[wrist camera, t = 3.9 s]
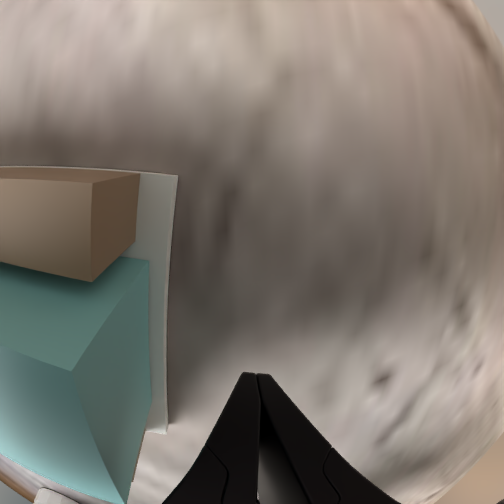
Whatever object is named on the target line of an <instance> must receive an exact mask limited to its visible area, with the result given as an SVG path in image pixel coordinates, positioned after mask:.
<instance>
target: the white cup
mask: <svg viewBox="0 0 504 504" xmlns="http://www.w3.org/2000/svg"><path fill="white" fill-rule="evenodd" d="M33 504H79V503H77V502H76V501H73V500H71V499H70V498H68V497H66V496H64V495H61V494H59V493H57V492H55V491H52V490H49V489H46V488H40V489H39V491H38V493H37V496H36V498H35V500H34V503H33Z"/></svg>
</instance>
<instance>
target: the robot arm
mask: <svg viewBox="0 0 504 504" xmlns="http://www.w3.org/2000/svg"><path fill="white" fill-rule="evenodd" d="M331 447H332V446H331V444H330V443H329V442H328V441H327V440H326V439H325V438H324V437H323V436H322V435H321V433H320V432H319V431H318V430H317V429H316V428H315V427H314V426H313V425H312V423H311V422H310V421H309V420H308V419H307V418H306V417H305V415H304V414H303V413H302V412H301V411H300V410H299V409H298V407H297V406H296V405H295V404H294V403H293V402H292V400H291V399H290V398H289V397H288V396H287V394H286V393H285V392H284V391H283V390H282V389H281V387H280V386H279V385H278V384H277V382H276V381H275V380H274V379H273V378H272V376H271V375H269V374H261V373H257V374H255V373H249V372H243V373H242V374H241V375H240V377H239V379H238V381H237V383H236V385H235V387H234V389H233V391H232V393H231V395H230V397H229V399H228V401H227V403H226V405H225V407H224V409H223V411H222V413H221V415H220V417H219V419H218V421H217V422H216V424H215V426H214V428H213V430H212V432H211V434H210V436H209V438H208V439H207V441H206V443H205V446H204V447H203V448H202V450H201V452H200V454H199V456H198V457H197V459H196V460H195V462H194V464H193V465H192V467H191V469H190V470H189V471H188V473H187V474H186V475H185V477H184V478H183V479H182V481H181V482H180V483H179V484H178V485H177V487H176V488H175V489H174V490H173V491H172V492H171V494H170V495H169V496H168V497H167V498H166V499H165V500H164V502H163V503H162V504H401V503H399V502H397V501H396V500H394V499H393V498H391V497H390V496H389V495H387V494H386V493H385V492H383V491H382V490H381V489H379V488H378V487H377V486H375V485H374V484H373V483H371V482H370V481H369V480H368V479H366V478H365V477H364V476H363V475H361V474H360V473H359V472H358V471H357V470H356V469H354V468H353V467H352V466H351V465H350V464H349V463H348V462H347V461H346V460H345V459H344V458H343V457H342V456H341V455H340V454H339V453H338V452H337V451H336V450H335V449H334V448H333V447H332V448H331ZM257 490H258V494H259V501H260V503H257ZM497 504H504V499H503V500H501V501H500V502H498V503H497Z"/></svg>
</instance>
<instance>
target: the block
mask: <svg viewBox="0 0 504 504" xmlns="http://www.w3.org/2000/svg"><path fill="white" fill-rule="evenodd" d="M148 289H149V261H148V260H141V259H135V258H128V257H122V256H119V257H118V258H117V259H116V260H114V261H113V262H112V263H111V264H110V265H109V266H108V267H107V268H106V269H105V270H104V271H103V272H102V273H101V274H100V275H99V276H98V277H97V278H96V279H95V280H94V281H93V282H88V281H83V280H79V279H74V278H69V277H64V276H60V275H55V274H50V273H46V272H42V271H37V270H33V269H29V268H24V267H20V266H16V265H12V264H8V263H4V262H0V454H2V455H4V456H5V457H7V458H9V459H10V460H12V461H14V462H16V463H17V464H19V465H21V466H23V467H25V468H27V469H29V470H31V471H33V472H35V473H37V474H39V475H41V476H43V477H45V478H47V479H49V480H52V481H54V482H56V483H58V484H61V485H63V486H66V487H68V488H71V489H73V490H76V491H78V492H81V493H84V494H87V495H89V496H92V497H95V498H98V499H101V500H105V501H108V502H111V503H115V504H127V500H128V495H129V490H130V486H131V481H132V477H133V473H134V468H135V464H136V460H137V456H138V452H139V448H140V444H141V440H142V436H143V432H144V428H145V425H146V421H147V417H148V413H149V410H150V406H151V403H152V394H151V380H150V362H149V331H148Z"/></svg>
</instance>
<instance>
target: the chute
mask: <svg viewBox="0 0 504 504" xmlns="http://www.w3.org/2000/svg"><path fill="white" fill-rule="evenodd" d="M177 183H178V175H171V174H161V173H151V172H140V171H128V170H115V169H100V168H83V167H58V166H0V262H4V263H8V264H12V265H16V266H20V267H24V268H29V269H33V270H37V271H42V272H46V273H50V274H55V275H60V276H64V277H69V278H74V279H79V280H83V281H88V282H93V281H94V280H95V279H96V278H97V277H98V276H99V275H100V274H101V273H102V272H103V271H104V270H105V269H106V268H107V267H108V266H109V265H110V264H111V263H112V262H113V261H114V260H116V259H117V258H118V257H119V256H122V257H128V258H135V259H141V260H148V261H149V289H148V331H149V362H150V380H151V394H152V403H151V406H150V410H149V413H148V417H147V421H146V425H145V428H144V432H143V436H142V440H141V444H140V448H139V452H138V456H137V460H136V464H135V468H134V473H133V477H132V481H131V482H133V480H134V475H135V471H136V467H137V462H138V458H139V454H140V450H141V446H142V442H143V438H144V434H145V431H150V432H155V433H160V434H165V435H166V434H167V429H168V410H167V364H166V353H167V306H168V284H169V268H170V253H171V241H172V229H173V219H174V209H175V200H176V191H177Z"/></svg>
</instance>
